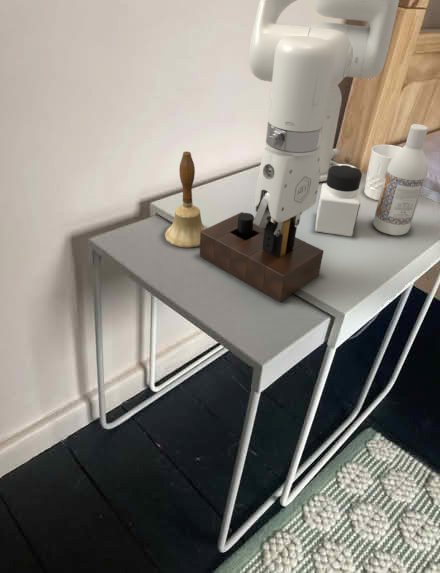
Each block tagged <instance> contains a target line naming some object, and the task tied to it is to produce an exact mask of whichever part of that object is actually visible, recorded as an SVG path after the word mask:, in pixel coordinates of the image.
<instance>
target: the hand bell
mask: <svg viewBox="0 0 440 573" xmlns="http://www.w3.org/2000/svg"><path fill="white" fill-rule="evenodd" d="M195 174H196V170H195V162H194V159H193V157H192V153H191V152H190V151H184V152H182V157H181V160H180V162H179V179H180V182H181V186H182V205H179V206H177V207H176V208H175V211H174V217H173V222H172V224H171V225H170V226H169V227H168V228H167V229H166V230H165V233H164V239H165V241H167V242H168V243H169V244H170V245H173V246H175V247H177V248H183V249H187V248H189V249H191V248H198V247H200V232H201V231H203V230H205V229H207V227H205V225H204V224H203V220H202V217H201V210H200V208H199V207H198V206H196V205H193V190H192V189H193V185H194V180H195Z"/></svg>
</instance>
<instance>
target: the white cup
mask: <svg viewBox="0 0 440 573" xmlns="http://www.w3.org/2000/svg"><path fill="white" fill-rule="evenodd" d="M402 148H403V147H401V146H399V145H394V144H376V145H375V144H374V145H373V146H372V147H371V149H370V156H369V161H368V167H367V171H366V172H367V173H366V177H365V185H364V190H363V192H364V195H365V196H366V197H368V198H369V199H371V200H375V201H379V198H380V194H381V190H382V186H383V182H384V179H385V175H386V171H387V168H388V165H389V163H390V161H391V159H392V158H393V157H394V156H395V154H396V153H397V152H398V151H400V150H401V149H402Z"/></svg>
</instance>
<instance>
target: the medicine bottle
mask: <svg viewBox="0 0 440 573" xmlns="http://www.w3.org/2000/svg"><path fill="white" fill-rule="evenodd" d="M362 176H363V173H362V171H361V169H359V168H358V167H356V166H354V165H352V164H348V163H337V164H333V165H332V166H331V167H330V168H329V170H328V176H327V181H325V182H324V183H322V184H321V189H320V194H319V200H318V205H317V209H316V210H317V211H316V217H315V225H314V226H315V227H314V231H315V232H316V233H323V234H331V235H338V236H345V237H353V235H354V232H355V228H356V224H357V220H358V215H359V211H360V207H361V195H360V194H361V193H360V185H361V182H362Z"/></svg>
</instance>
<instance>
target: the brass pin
mask: <svg viewBox="0 0 440 573" xmlns="http://www.w3.org/2000/svg"><path fill="white" fill-rule="evenodd" d="M272 222H273V223H274V224H275V222H276V221H275V220H273V219H272ZM289 226H290V219H288V220H286V221H283V224H282V229H281V233H280V234H282V235H283V239H282V246H281V253H280V256H279V258H281V257H283V256H284V255H285V253H286V246H287V240H288V233H289Z"/></svg>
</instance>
